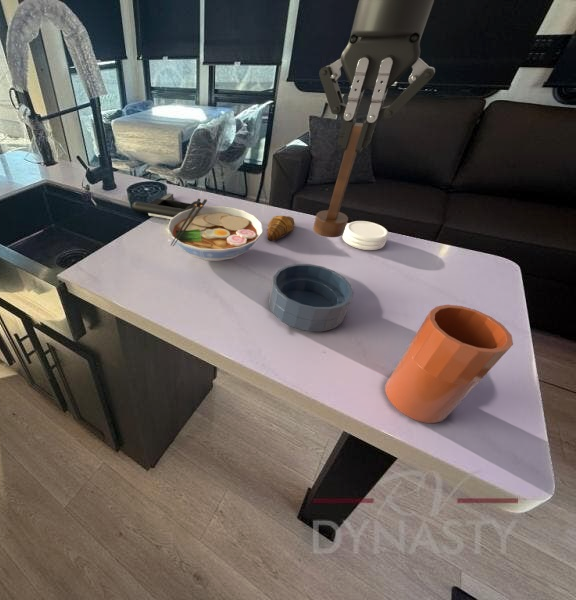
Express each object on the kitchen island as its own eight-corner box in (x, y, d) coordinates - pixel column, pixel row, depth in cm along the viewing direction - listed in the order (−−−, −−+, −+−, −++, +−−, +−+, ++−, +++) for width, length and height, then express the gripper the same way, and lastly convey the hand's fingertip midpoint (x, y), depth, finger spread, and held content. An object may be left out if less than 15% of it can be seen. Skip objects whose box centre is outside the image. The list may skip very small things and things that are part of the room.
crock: (448, 390, 50) (509, 318, 41) (447, 433, 45) (516, 363, 35) (388, 368, 54) (431, 297, 44) (381, 405, 48) (427, 334, 39)
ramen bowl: (249, 288, 71) (253, 256, 66) (152, 270, 78) (149, 239, 72) (266, 235, 89) (270, 206, 84) (186, 224, 96) (186, 197, 90)
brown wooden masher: (346, 227, 55) (381, 122, 45) (340, 240, 52) (375, 130, 42) (317, 221, 57) (343, 119, 47) (309, 233, 54) (336, 127, 44)
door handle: (153, 188, 111) (128, 204, 100) (208, 196, 105) (189, 214, 93) (153, 198, 113) (129, 214, 102) (208, 206, 107) (189, 225, 95)
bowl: (350, 300, 67) (359, 276, 63) (333, 344, 58) (343, 320, 54) (282, 279, 73) (287, 256, 70) (257, 316, 64) (261, 292, 60)
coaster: (333, 235, 88) (337, 223, 85) (364, 229, 90) (368, 217, 88) (361, 254, 80) (365, 241, 78) (393, 246, 83) (399, 234, 80)
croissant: (278, 220, 96) (281, 204, 93) (301, 226, 92) (305, 209, 89) (257, 239, 88) (259, 222, 84) (281, 246, 84) (284, 229, 81)
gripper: (327, -17, 36) (295, 150, 47) (480, -31, 30) (403, 164, 41) (342, -12, 41) (310, 138, 52) (477, -24, 35) (408, 149, 46)
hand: (351, 149), depth 46 cm, fingers closed on brown wooden masher, 1 cm apart
